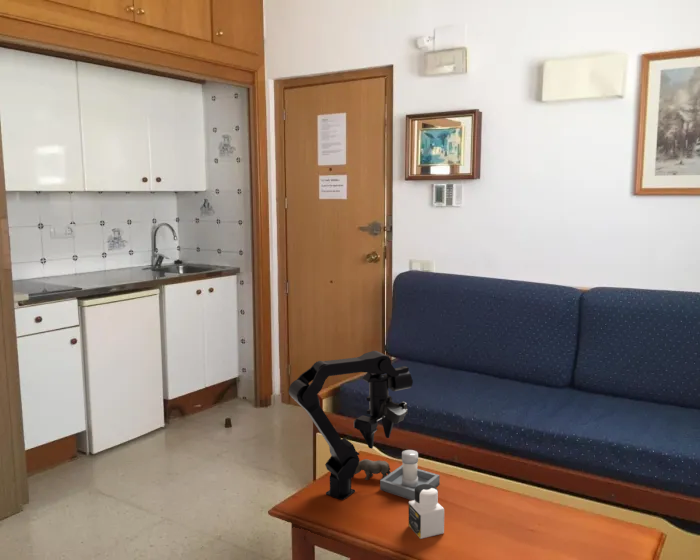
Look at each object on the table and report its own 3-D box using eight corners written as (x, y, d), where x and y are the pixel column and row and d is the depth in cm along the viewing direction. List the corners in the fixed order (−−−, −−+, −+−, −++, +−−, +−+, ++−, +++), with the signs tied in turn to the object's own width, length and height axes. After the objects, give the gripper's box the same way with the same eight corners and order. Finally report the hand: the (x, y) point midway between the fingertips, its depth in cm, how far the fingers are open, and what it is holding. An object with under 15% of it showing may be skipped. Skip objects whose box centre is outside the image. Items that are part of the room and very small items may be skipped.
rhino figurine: (349, 473, 204) (348, 455, 203) (392, 476, 201) (392, 458, 200) (346, 479, 200) (346, 460, 199) (390, 482, 197) (390, 464, 196)
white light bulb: (416, 489, 191) (416, 457, 189) (400, 487, 192) (400, 455, 191) (419, 481, 196) (419, 450, 194) (404, 479, 197) (403, 449, 195)
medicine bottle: (408, 525, 173) (408, 484, 171) (431, 520, 175) (431, 479, 173) (420, 539, 166) (420, 496, 164) (444, 533, 169) (444, 491, 167)
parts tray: (417, 502, 185) (417, 492, 185) (380, 489, 193) (380, 480, 192) (439, 484, 196) (439, 475, 195) (402, 473, 203) (402, 464, 203)
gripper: (384, 408, 180) (384, 460, 183) (418, 389, 195) (418, 438, 198) (352, 400, 187) (353, 451, 189) (387, 383, 202) (387, 430, 204)
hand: (379, 442), depth 195 cm, fingers open, 9 cm apart
